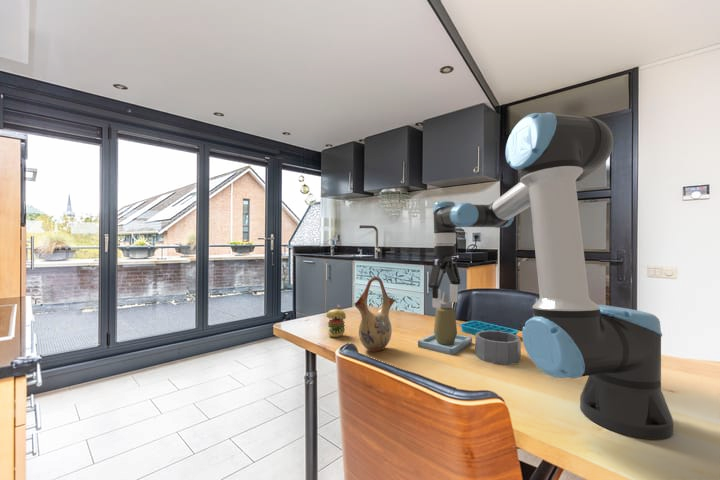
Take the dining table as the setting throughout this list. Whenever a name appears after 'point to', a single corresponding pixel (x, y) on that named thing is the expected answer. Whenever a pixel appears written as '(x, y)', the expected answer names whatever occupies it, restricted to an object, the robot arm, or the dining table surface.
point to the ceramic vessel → (374, 320)
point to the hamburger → (336, 322)
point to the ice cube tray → (484, 327)
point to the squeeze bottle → (445, 322)
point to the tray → (450, 349)
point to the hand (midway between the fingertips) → (445, 304)
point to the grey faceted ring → (498, 347)
